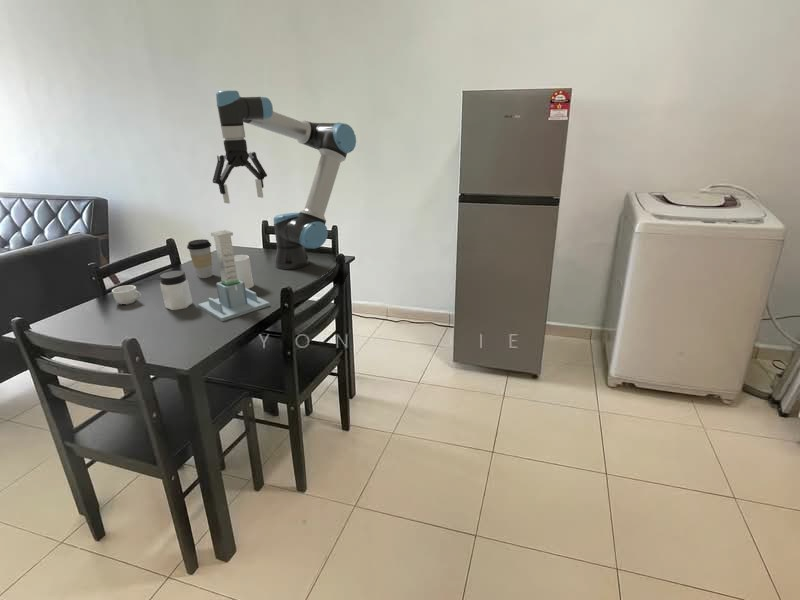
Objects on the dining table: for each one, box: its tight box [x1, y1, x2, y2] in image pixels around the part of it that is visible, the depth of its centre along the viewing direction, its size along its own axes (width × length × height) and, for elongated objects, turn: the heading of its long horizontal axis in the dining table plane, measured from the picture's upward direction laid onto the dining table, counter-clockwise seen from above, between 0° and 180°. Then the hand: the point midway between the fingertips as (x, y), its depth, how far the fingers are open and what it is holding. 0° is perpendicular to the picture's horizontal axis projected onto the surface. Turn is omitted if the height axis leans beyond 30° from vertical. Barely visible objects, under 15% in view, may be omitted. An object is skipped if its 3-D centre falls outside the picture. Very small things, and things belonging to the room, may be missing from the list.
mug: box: [234, 254, 255, 290], centre depth 178 cm, size 12×8×12 cm
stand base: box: [197, 280, 271, 322], centre depth 161 cm, size 18×18×9 cm
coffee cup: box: [186, 238, 213, 279], centre depth 191 cm, size 9×9×15 cm
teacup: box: [111, 284, 142, 305], centre depth 167 cm, size 10×8×5 cm
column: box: [210, 229, 239, 287], centre depth 156 cm, size 5×5×20 cm
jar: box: [159, 270, 193, 311], centre depth 162 cm, size 9×8×12 cm
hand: (244, 200), depth 167 cm, fingers open, 13 cm apart
